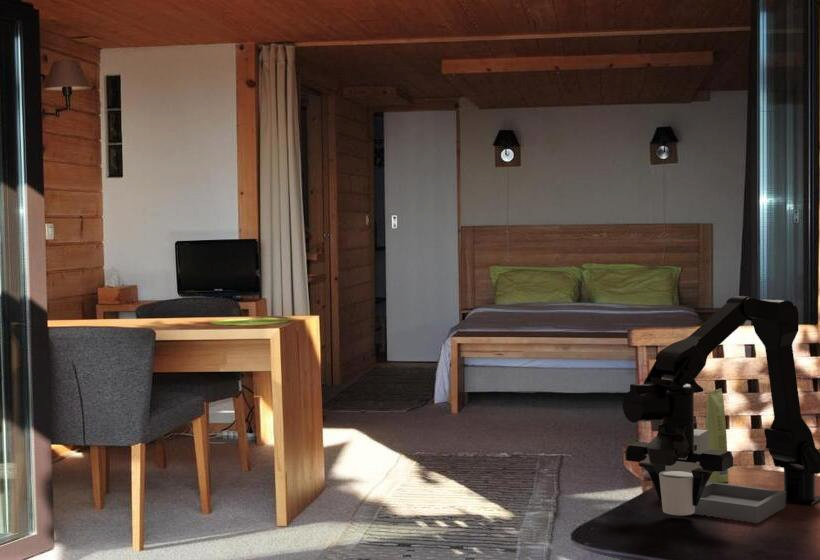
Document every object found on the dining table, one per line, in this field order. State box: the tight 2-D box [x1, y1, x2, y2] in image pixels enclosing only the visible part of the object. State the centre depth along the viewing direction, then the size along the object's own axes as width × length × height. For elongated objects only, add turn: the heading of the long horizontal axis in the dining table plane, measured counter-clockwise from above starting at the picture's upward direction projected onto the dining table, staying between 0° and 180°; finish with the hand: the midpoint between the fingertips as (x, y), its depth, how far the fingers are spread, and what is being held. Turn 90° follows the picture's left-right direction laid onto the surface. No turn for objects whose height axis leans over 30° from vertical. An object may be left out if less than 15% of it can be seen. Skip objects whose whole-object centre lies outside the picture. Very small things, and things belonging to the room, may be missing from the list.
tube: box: [704, 388, 729, 484], centre depth 225 cm, size 6×5×20 cm
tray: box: [693, 482, 787, 524], centre depth 200 cm, size 15×15×3 cm
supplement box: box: [666, 428, 710, 483], centre depth 214 cm, size 7×7×13 cm
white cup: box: [659, 470, 695, 516], centre depth 193 cm, size 7×7×7 cm
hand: (678, 503), depth 193 cm, fingers closed on white cup, 6 cm apart
